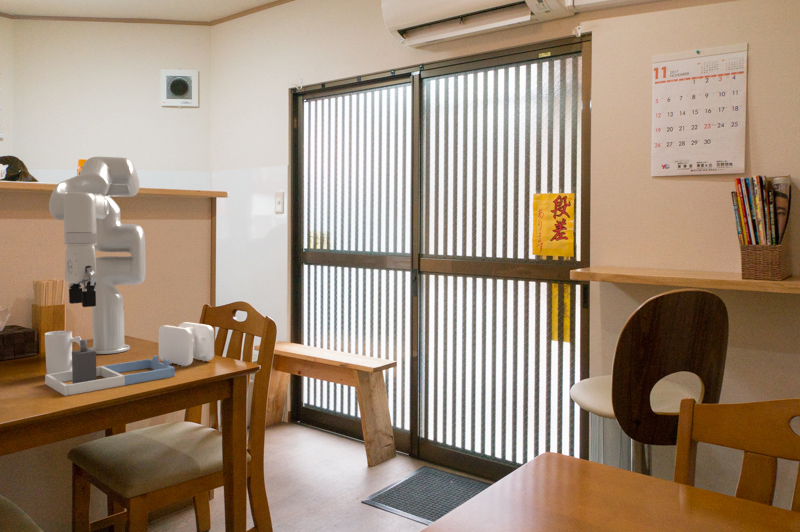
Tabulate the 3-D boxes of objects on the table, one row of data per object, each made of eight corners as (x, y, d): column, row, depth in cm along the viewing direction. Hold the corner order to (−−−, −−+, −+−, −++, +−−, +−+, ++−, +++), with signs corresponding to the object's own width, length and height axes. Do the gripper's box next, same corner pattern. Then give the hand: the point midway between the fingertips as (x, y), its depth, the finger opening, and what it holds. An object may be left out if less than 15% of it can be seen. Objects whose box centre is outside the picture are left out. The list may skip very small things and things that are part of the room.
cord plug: (72, 384, 163) (71, 340, 162) (90, 381, 166) (89, 337, 165) (78, 388, 160) (77, 342, 159) (96, 384, 163) (95, 340, 162)
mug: (41, 378, 169) (40, 335, 168) (51, 372, 176) (49, 331, 175) (81, 376, 171) (80, 334, 170) (88, 371, 178) (87, 330, 177)
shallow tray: (45, 383, 163) (45, 368, 163) (151, 366, 183) (150, 353, 183) (64, 395, 152) (64, 379, 152) (174, 376, 173) (174, 361, 172)
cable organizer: (156, 362, 190) (155, 325, 189) (184, 356, 199) (184, 320, 198) (188, 368, 182) (187, 329, 181) (216, 361, 191) (216, 325, 190)
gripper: (54, 239, 164) (56, 303, 165) (76, 240, 151) (78, 309, 152) (84, 239, 169) (85, 300, 170) (108, 240, 157) (109, 306, 158)
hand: (82, 304), depth 161 cm, fingers open, 9 cm apart
